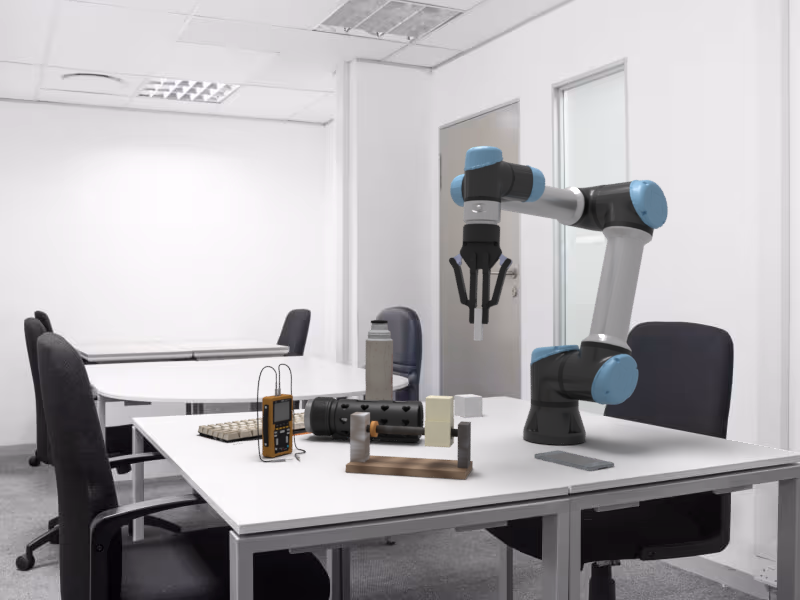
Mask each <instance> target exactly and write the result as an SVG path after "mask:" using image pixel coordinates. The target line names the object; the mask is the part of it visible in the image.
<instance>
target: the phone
mask: <svg viewBox="0 0 800 600" xmlns="http://www.w3.org/2000/svg"><path fill="white" fill-rule="evenodd" d="M534 459H537V460H540V461H544V462H547V463H553V464H557V465H561V466H565V467H570V468H573V469H578V470H582V471H586V472H594V471H598V470H601V469H606V468H607V469H610V468H614V467H615V463H614V462H612V461H608V460H603V459H599V458H595V457H591V456H585V455H581V454H577V453H573V452H568V451H564V450H552V451H545V452H540V453H538V452H537V453H535V454H534Z"/></svg>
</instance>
